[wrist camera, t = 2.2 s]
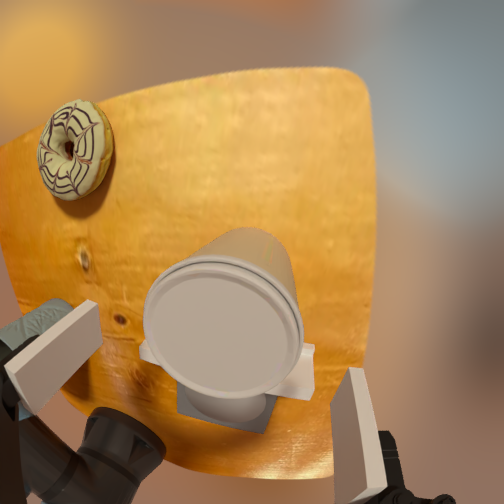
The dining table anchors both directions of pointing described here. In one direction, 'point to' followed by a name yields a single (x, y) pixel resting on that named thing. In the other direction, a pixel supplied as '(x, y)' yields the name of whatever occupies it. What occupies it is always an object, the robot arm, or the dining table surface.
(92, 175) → the decorated donut
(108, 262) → the dining table surface
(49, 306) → the grey cup
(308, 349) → the low wall
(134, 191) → the dining table surface
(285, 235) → the dining table surface
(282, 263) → the coffee cup
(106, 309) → the dining table surface
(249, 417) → the resting mat
